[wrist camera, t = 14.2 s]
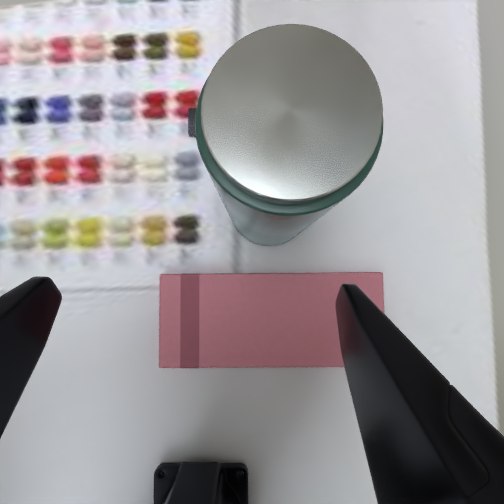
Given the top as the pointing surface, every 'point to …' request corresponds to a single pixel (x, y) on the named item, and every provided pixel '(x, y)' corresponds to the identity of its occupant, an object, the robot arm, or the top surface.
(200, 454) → the top surface
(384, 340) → the robot arm
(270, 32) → the tin
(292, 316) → the towel
